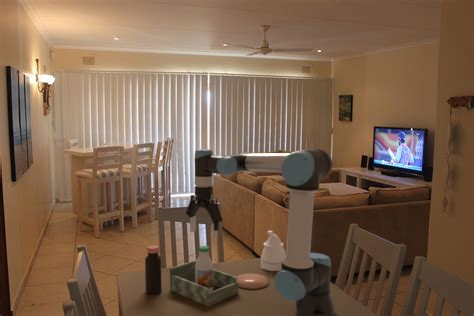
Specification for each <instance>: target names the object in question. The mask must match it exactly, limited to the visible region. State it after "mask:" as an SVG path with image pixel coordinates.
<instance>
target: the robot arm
mask: <svg viewBox="0 0 474 316" xmlns="http://www.w3.org/2000/svg"><path fill="white" fill-rule="evenodd" d="M332 169H333V160H332V156H331V155H330V154H329V153H328V151H326V150H324V149H321V148H311V149H299V150H296V151H293V152H289V153H280V152H279V153H270V152H269V153H265V152H264V153H263V152H262V153H258V152H257V153H255V152H254V153H251V152H250V153H249V152H243V153H242V152H241V153H236V154H226V155H225V154H224V155H215V154H214V153H213V150H212V149H209V148H207V149H206V148H200V149H198V148H197V149H196V150H195V151H194V185H195V186H194V194H191V195H190V200H189V204H188V206H187V209H186V212H185V214H186V215H187V216H188V218H189V222H188V223H189V232H190V233H193V232H196V231H197V216H196V213H198V211H199V209H200V208H202V209H205V210H206V211H207V212H208V214H209V217H210V219H211V221H212V222H211V239H216V238H217V239H218V238H219V237H218V231H219V227H220V226H219V223H221V222H223V218H222V214H221V211H220V209H219V208H220V207H219V205H218V200H217V198H212V195H213V174H218V175H221V176H222V175H223V176H232V175H234V173H239V172H264V173H265V172H266V173H269V172H270V173H281V177H282V178H283V180H284V182H285V183H286V184H285V188H286V189H287V190H288V191H289V205H288V218H287V235H286V236H287V237H286V252H285V255H286V256H285V257H284V258H283V259H282V262H281V270H280V271H277V273H276V274H275V276H274V286H275V289H276V291H277V292H278V294H279V295H280V296H281V297H282V298H283V299H284V300H286V301H289V302H295V305H294V312H295V314H296V315H297V316H335V306H334V303H333V300H332V299H333V298H332V296H331V275H332V273H331V272H332V263H331V262H332V260H331V258H330V257H329V256H328V255H326V254H323V253H319V252H311V250H312V249H311V248H312V246H311V245H312V234H313V233H312V231H313V221H314V219H313V217H314V203H315V194H316V193H317V192H318V191H319V190H320V183H321V180H323V179H325V178H327V177H328V176H329V175H330V173H331V172H332Z"/></svg>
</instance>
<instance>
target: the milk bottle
mask: <svg viewBox="0 0 474 316" xmlns="http://www.w3.org/2000/svg"><path fill="white" fill-rule="evenodd" d="M209 253H210V246H208V245H200V246H198V257H197V258H196V260H197V261H196V265H195V283H196V284H198V285H201V286H204V287H206V288H208V293H210V292H212V291H214V285H213V269H214V265H213V261H212V260H211V257H210V254H209Z"/></svg>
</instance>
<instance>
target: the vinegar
mask: <svg viewBox="0 0 474 316" xmlns="http://www.w3.org/2000/svg"><path fill="white" fill-rule="evenodd" d="M146 249H147V250H146V252H147V253H146V254H147V255H146V256H145V258H144V266H145V267H144V268H145V269H144V271H145V272H144V273H145V274H144V275H145V293H146V294H147V295H158V294H160V293H162V257H161V256H160V255H159V252H160V247H159V245H156V244H155V245H148V246H146Z"/></svg>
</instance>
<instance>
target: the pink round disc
mask: <svg viewBox="0 0 474 316" xmlns="http://www.w3.org/2000/svg"><path fill="white" fill-rule="evenodd" d="M236 277H237V282H239V288H241V289H247V290H257V289H263V288H265V287H266V286H268V284H269V280H268V279H269V278H268V277H266V276H265V275H263V274H259V273H243V274H239V275H237V276H236Z"/></svg>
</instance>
